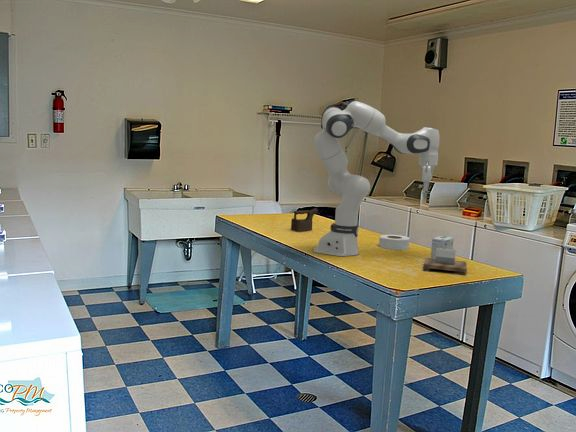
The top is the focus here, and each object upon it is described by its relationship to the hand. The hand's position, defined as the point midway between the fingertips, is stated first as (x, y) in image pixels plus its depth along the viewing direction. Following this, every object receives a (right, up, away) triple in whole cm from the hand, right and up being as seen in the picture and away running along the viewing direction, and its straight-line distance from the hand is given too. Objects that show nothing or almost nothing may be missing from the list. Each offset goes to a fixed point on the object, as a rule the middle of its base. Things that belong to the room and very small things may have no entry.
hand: (425, 190), depth 258 cm
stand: (+3, -36, -20) cm, 41 cm away
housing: (+3, -33, -20) cm, 39 cm away
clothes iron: (-57, -22, +65) cm, 89 cm away
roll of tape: (-10, -29, +26) cm, 41 cm away
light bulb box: (+8, -34, +1) cm, 34 cm away
